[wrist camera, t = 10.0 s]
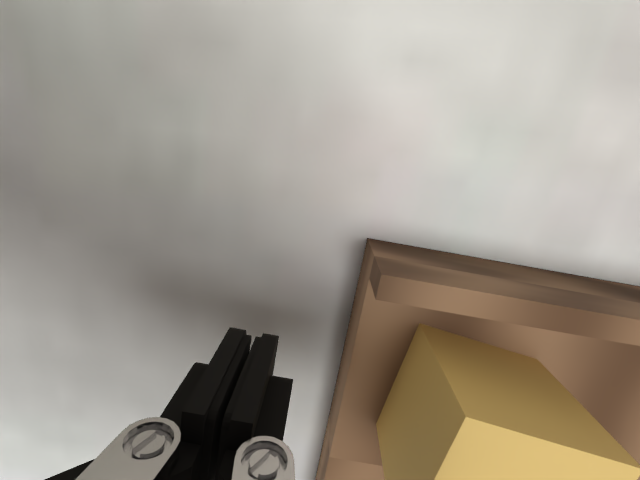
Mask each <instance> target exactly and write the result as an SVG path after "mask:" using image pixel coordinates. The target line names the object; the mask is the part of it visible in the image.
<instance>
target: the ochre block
mask: <svg viewBox="0 0 640 480" xmlns="http://www.w3.org/2000/svg"><path fill="white" fill-rule="evenodd" d="M376 427H377V433H378V440H379V446H380V452H381V459H382V465H383V471H384V477H385V480H637V479H638V478H639V476H640V465H639V464H638V463H637V462H636V461H635V459H634V458H633V457H632V456H631V455H630V454H629V453H628V452H627V451H626V450H625V449H624V448H623V447H622V446H621V445H620V444H619V443H618V442H617V441H616V440H615V439H614V438H613V437H612V436H611V435H610V434H609V433H608V432H607V431H606V430H605V429H604V428H603V426H602V425H601V424H600V423H599V422H598V421H597V420H596V419H595V418H594V417H593V416H592V415H591V414H590V413H589V412H588V411H587V410H586V409H585V408H584V407H583V406H582V405H581V404H580V403H579V402H578V401H577V400H576V399H575V398H574V397H573V396H572V394H571V393H570V392H569V391H568V390H567V389H566V388H565V387H564V386H563V385H562V384H561V383H560V382H559V381H558V380H557V379H556V378H555V377H554V376H553V375H552V374H551V373H550V372H549V371H548V370H547V369H546V368H545V367H544V366H543V365H542V364H541V362H540V361H539V360H538V359H535V358H531V357H528V356H525V355H522V354H518V353H515V352H512V351H509V350H505V349H502V348H499V347H496V346H492V345H489V344H486V343H482V342H479V341H476V340H473V339H469V338H466V337H463V336H460V335H456V334H453V333H450V332H447V331H443V330H440V329H437V328H433V327H430V326H427V325H424V324H420V323H419V325H418V328H417V330H416V332H415V335H414V337H413V339H412V342H411V344H410V346H409V349H408V351H407V353H406V356H405V358H404V360H403V362H402V365H401V367H400V369H399V372H398V374H397V376H396V379H395V381H394V383H393V386H392V388H391V390H390V393H389V395H388V397H387V400H386V402H385V404H384V407H383V409H382V411H381V414H380V416H379V418H378V421H377V423H376Z"/></svg>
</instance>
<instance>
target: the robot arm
mask: <svg viewBox="0 0 640 480" xmlns="http://www.w3.org/2000/svg"><path fill="white" fill-rule="evenodd" d="M278 339H279V336H275V335H270V334H264V333H263V335H262V337H255V340H254V342H253V345H252V347H251V350H250V345H251V336H250V335H246V330H241V329H236V328H229V330H228V332H227V333H226V335H225V337H224V339H223V340H222V342H221V344H220V345H219V347H218V349H217V351H216V352H215V354H214V356H213V358H212V359H211V361H210V363H209V364H203V363H195V364H194V365H193V366H192V368H191V369H190V371H189V372H188V374H187V376H186V377H185V379H184V380H183V382H182V383H181V385H180V386H179V388H178V390H177V391H176V393H175V394H174V396H173V397H172V399H171V400H170V402H169V404H168V405H167V407H166V408H165V410H164V411H163V413H162V414H161V416H160V417H152V418H146V419H142V420H139V421H137V422H135V423H133V424H131V425H129V426H128V427H127V428H125V429H124V430H123V431H122V432H121V433H120V434H119V435H118V436H117V437H116V438H115V439H114V440H113V441H112V442H111V443H110V444H109V445H108V446H107V447H106V448H105V449H104V450H103V452H102V453H101V454H100V455H99V456H98V457H97V458H96V459H94V460H91V461H89V462H86V463H84V464H81V465H79V466H77V467H74V468H72V469H69V470H67V471H64V472H62V473H60V474H57V475H55V476H52V477H50V478H47V479H45V480H295V468H294V458H293V454H292V452H291V450H290V448H289V447H288V446H287V445H286V444H285V443H284V442H283V436H284V430H285V424H286V418H287V413H288V407H289V401H290V395H291V389H292V383H293V379H288V378H282V377H277V376H272V375H273V369H274V363H275V357H276V351H277V345H278ZM249 351H250V352H249Z"/></svg>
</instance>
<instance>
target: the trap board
mask: <svg viewBox="0 0 640 480" xmlns="http://www.w3.org/2000/svg"><path fill="white" fill-rule="evenodd" d="M419 323H420V324H424V325H427V326H430V327H433V328H437V329H440V330H443V331H447V332H450V333H453V334H456V335H460V336H463V337H466V338H469V339H473V340H476V341H479V342H482V343H486V344H489V345H492V346H496V347H499V348H502V349H505V350H509V351H512V352H515V353H518V354H522V355H525V356H528V357H531V358H535V359H538V360H539V361H540V362H541V364H542V365H543V366H544V367H545V368H546V369H547V370H548V371H549V372H550V373H551V374H552V375H553V376H554V377H555V378H556V379H557V380H558V381H559V382H560V383H561V384H562V385H563V386H564V387H565V388H566V389H567V390H568V391H569V392H570V393H571V394H572V396H573V397H574V398H575V399H576V400H577V401H578V402H579V403H580V404H581V405H582V406H583V407H584V408H585V409H586V410H587V411H588V412H589V413H590V414H591V415H592V416H593V417H594V418H595V419H596V420H597V421H598V422H599V423H600V424H601V425H602V426H603V428H604V429H605V430H606V431H607V432H608V433H609V434H610V435H611V436H612V437H613V438H614V439H615V440H616V441H617V442H618V443H619V444H620V445H621V446H622V447H623V448H624V449H625V450H626V451H627V452H628V453H629V454H630V455H631V456H632V457H633V458H634V459H635V461H636V462H637V463H638V464H639V465H640V287H639V286H634V285H628V284H622V283H617V282H611V281H605V280H600V279H594V278H589V277H583V276H577V275H572V274H566V273H560V272H555V271H549V270H543V269H538V268H532V267H527V266H521V265H515V264H510V263H504V262H498V261H493V260H487V259H481V258H476V257H470V256H465V255H459V254H453V253H448V252H442V251H436V250H431V249H425V248H420V247H414V246H408V245H403V244H397V243H391V242H386V241H380V240H374V239H369V238H367V242H366V247H365V251H364V256H363V261H362V265H361V270H360V275H359V279H358V284H357V288H356V293H355V298H354V302H353V307H352V312H351V316H350V321H349V326H348V330H347V335H346V339H345V344H344V349H343V353H342V358H341V363H340V367H339V372H338V377H337V381H336V386H335V390H334V395H333V400H332V404H331V409H330V414H329V418H328V423H327V427H326V432H325V437H324V441H323V446H322V451H321V455H320V460H319V465H318V469H317V474H316V478H315V480H385V477H384V471H383V465H382V459H381V452H380V446H379V440H378V433H377V427H376V423H377V421H378V418H379V416H380V414H381V411H382V409H383V407H384V404H385V402H386V400H387V397H388V395H389V393H390V390H391V388H392V386H393V383H394V381H395V379H396V376H397V374H398V372H399V369H400V367H401V365H402V362H403V360H404V358H405V356H406V353H407V351H408V349H409V346H410V344H411V342H412V339H413V337H414V335H415V332H416V330H417V328H418V325H419ZM637 480H640V476H639V478H638V479H637Z"/></svg>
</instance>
